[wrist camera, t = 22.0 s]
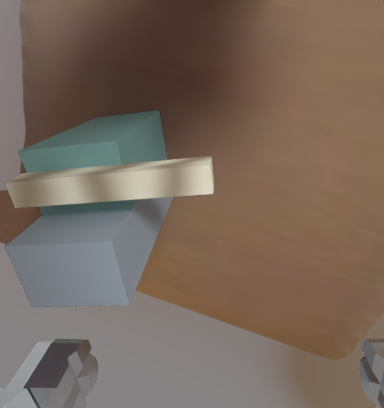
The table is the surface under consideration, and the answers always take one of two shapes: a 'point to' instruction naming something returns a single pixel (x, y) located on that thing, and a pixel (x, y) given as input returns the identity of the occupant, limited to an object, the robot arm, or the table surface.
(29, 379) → the robot arm
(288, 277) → the table surface
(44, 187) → the ash rod
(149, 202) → the stepped riser
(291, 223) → the table surface
